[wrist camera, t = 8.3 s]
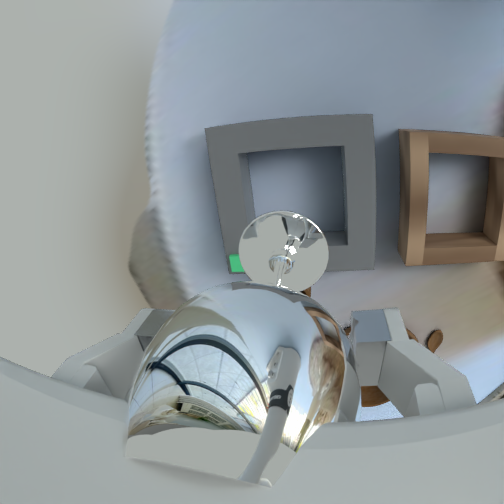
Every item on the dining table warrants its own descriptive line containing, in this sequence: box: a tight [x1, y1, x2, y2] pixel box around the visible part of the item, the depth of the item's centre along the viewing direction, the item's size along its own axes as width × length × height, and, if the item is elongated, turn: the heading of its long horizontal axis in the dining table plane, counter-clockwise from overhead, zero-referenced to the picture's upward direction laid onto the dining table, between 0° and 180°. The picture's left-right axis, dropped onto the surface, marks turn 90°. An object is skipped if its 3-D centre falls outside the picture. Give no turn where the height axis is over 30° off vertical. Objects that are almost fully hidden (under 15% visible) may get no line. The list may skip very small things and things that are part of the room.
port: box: [205, 114, 376, 274], centre depth 23 cm, size 12×12×3 cm
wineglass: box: [122, 210, 362, 488], centre depth 10 cm, size 6×6×12 cm
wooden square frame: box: [398, 129, 504, 266], centre depth 21 cm, size 11×11×3 cm
